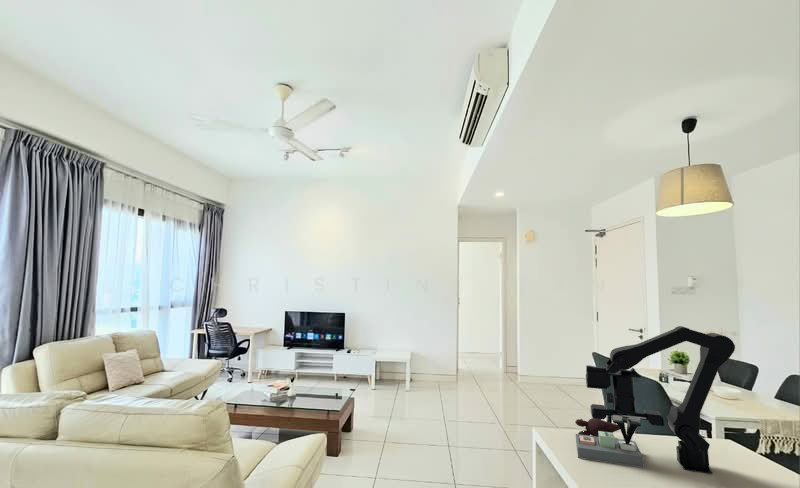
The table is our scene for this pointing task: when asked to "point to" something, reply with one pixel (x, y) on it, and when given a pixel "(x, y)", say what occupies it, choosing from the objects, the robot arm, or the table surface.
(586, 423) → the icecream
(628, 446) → the key ivory
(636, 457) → the keypad
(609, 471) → the table surface
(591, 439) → the key coral
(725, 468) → the table surface
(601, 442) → the key sage
